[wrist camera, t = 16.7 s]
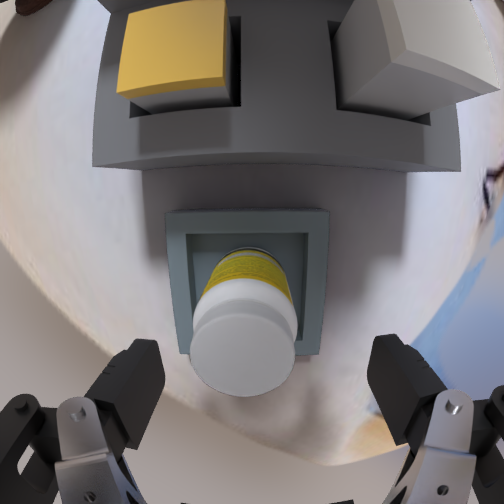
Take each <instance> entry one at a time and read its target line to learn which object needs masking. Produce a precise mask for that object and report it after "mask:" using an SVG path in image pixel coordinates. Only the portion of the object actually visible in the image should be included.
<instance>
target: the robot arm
mask: <svg viewBox="0 0 504 504" xmlns="http://www.w3.org/2000/svg"><path fill="white" fill-rule="evenodd" d="M367 380H368V384H369V386H370V388H371V390H372V392H373V395H374V397H375V399H376V401H377V403H378V405H379V408H380V410H381V412H382V414H383V417H384V419H385V421H386V423H387V425H388V428H389V430H390V432H391V435H392V437H393V439H394V442H395V444H396V446H398V445H401V444H405V443H408V444H409V446H410V448H409V450H408V451H407V454H406V456H405V459H404V461H403V464H402V466H401V468H400V471H399V473H398V475H397V477H396V480H395V482H394V484H393V486H392V488H391V490H390V492H389V494H388V495H387V497H386V499H385V500H384V502H383V503H382V504H467V502H468V498H469V494H470V490H471V486H472V487H473V489H474V492H475V494H476V496H477V499H478V501H479V504H504V459H503V457H502V455H501V453H500V452H499V450H498V448H497V446H496V443H497V442H498V441H499V439H500V438H501V437H502V439H503V441H504V385H503V386H498V387H497V388H495V389H494V390H493V392H492V394H491V396H490V398H489V399H485V400H475V401H472V400H471V398H470V397H469V396H468V395H467V394H466V393H464V392H462V391H459V390H454V389H450V390H448V389H447V388H446V386H445V385H444V384H443V382H442V381H441V380H440V378H439V377H438V376H437V374H436V373H435V372H434V371H433V369H432V368H431V367H429V364H428V363H427V362H426V361H424V358H423V357H422V356H421V354H420V353H419V352H418V351H417V350H416V349H414V348H412V347H411V346H409V345H404V344H403V342H402V341H401V340H400V339H399V337H398V336H397V335H396V334H388V335H380V336H376V337H375V339H374V341H373V346H372V351H371V356H370V360H369V364H368V369H367ZM164 385H165V372H164V368H163V364H162V359H161V355H160V351H159V346H158V343H157V341H156V340H148V339H135V340H134V342H133V343H132V344H131V346H130V347H129V348H128V350H123V351H121V352H120V353H118V354H117V355H115V356H114V357H113V358H112V359H111V361H110V362H109V364H108V365H107V367H105V369H104V370H103V371H102V373H101V374H100V375H99V377H98V378H97V380H96V381H95V382H94V383H93V385H92V386H91V387H90V389H89V390H88V392H87V393H86V394H85V396H84V397H73V398H70V399H67V400H65V401H64V402H63V403H61V404H60V406H59V407H58V408H47V407H41V406H40V404H39V402H38V401H37V399H36V398H35V397H34V396H33V395H30V394H20V395H18V396H16V397H14V398H12V399H11V400H10V401H9V402H8V404H7V405H6V406H5V407H4V409H3V410H2V411H1V412H0V504H53V502H54V499H55V497H56V495H57V493H58V491H60V496H61V499H62V504H147V503H146V501H145V500H144V498H143V496H142V495H141V493H140V491H139V489H138V487H137V484H136V482H135V480H134V478H133V476H132V474H131V471H130V469H129V467H128V465H127V462H126V460H125V457H124V455H123V451H124V449H125V447H127V448H131V449H135V450H137V449H138V447H139V444H140V442H141V440H142V437H143V435H144V432H145V430H146V428H147V425H148V423H149V420H150V418H151V416H152V413H153V411H154V409H155V407H156V404H157V402H158V400H159V398H160V395H161V393H162V391H163V388H164ZM28 445H30V447H31V448H32V449H33V450H34V453H33V455H32V456H31V458H30V459H29V461H28V463H27V465H26V466H25V468H24V470H23V472H22V473H21V475H20V474H19V472H18V469H17V464H18V461H19V459H20V458H21V456H22V454H23V453H24V451H25V450H26V448H27V446H28ZM181 504H186V503H181ZM331 504H354V502H353V500H348V501H342V502H337V503H331Z"/></svg>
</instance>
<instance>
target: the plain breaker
mask: <svg viewBox="0 0 504 504" xmlns="http://www.w3.org/2000/svg"><path fill="white" fill-rule="evenodd" d="M330 45H331V53H332V62H333V72H334V83H335V96H336V110H341V111H350V112H358V113H365V114H372V115H378V116H384V117H390V118H396V119H401V120H409V119H412V118H415V117H417V116H420V115H423V114H426V113H428V112H431V111H434V110H437V109H440V108H443V107H446V106H449V105H452V104H455V103H458V102H461V101H464V100H467V99H471V98H474V97H477V96H480V95H484V94H487V93H491V92H494V91H498V90H500V86H499V81H498V77H497V73H496V69H495V66H494V62H493V59H492V55H491V52H490V49H489V46H488V43H487V40H486V37H485V34H484V32H483V29H482V26H481V24H480V21H479V19H478V17H477V14H476V12H475V10H474V7H473V5H472V3H471V1H470V0H354V2H353V4H352V5H351V7H350V9H349V11H348V12H347V14H346V16H345V18H344V20H343V21H342V23H341V25H340V27H339V29H338V30H337V32H336V34H335V36H334V38H333V40H332V41H331V43H330Z"/></svg>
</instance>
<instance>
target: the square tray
mask: <svg viewBox="0 0 504 504" xmlns="http://www.w3.org/2000/svg"><path fill="white" fill-rule="evenodd" d="M329 220H330V212H329V211H326V210H324V209H300V208H248V209H200V210H174V211H171V212H168V213H165V227H166V242H167V255H168V266H169V276H170V286H171V295H172V303H173V311H174V319H175V326H176V333H177V339H178V346H179V352H180V354H190V345H191V342H192V338H193V334H194V330H193V317H194V312H195V309H196V306H197V303H198V301H199V299H200V297H201V295H202V293H203V291H204V289H205V286H206V284H207V283H208V281H209V279H210V276H211V274H212V273H213V270H214V268H215V266H216V265H217V263H218V262H219V261H220V259H221V258H222V257H223V256H225V255H226V254H227V253H229V252H231V251H233V250H235V249H238V248H243V247H255V248H260V249H263V250H265V251H267V252H269V253H270V254H272V255H273V256H274V257H275V258H276V259H277V260H278V261H279V262H280V264H281V265H282V267H283V269H284V272H285V275H286V279H287V282H288V286H289V290H290V294H291V298H292V302H293V305H294V309H295V313H296V316H297V324H298V328H297V336H296V339H295V342H294V348H295V356H299V355H318V354H319V349H320V341H321V332H322V323H323V313H324V303H325V291H326V278H327V263H328V245H329Z"/></svg>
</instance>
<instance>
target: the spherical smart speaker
mask: <svg viewBox="0 0 504 504" xmlns="http://www.w3.org/2000/svg"><path fill="white" fill-rule="evenodd" d="M5 1H8V0H0V3H2V2H5ZM51 1H53V0H15V6H16V12H17V13H18V14H20V15H23V16H27V15H30V14H33V13H35V12H36V11H38V10H40V9H42V8H43V7H44V6H46V5H47V4H49V3H50V2H51Z"/></svg>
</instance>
